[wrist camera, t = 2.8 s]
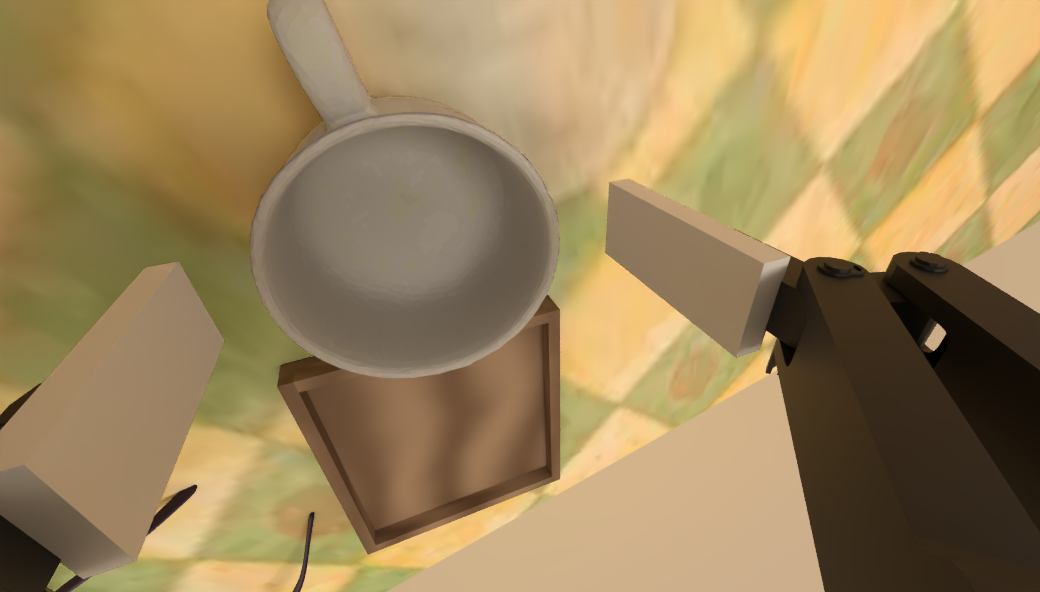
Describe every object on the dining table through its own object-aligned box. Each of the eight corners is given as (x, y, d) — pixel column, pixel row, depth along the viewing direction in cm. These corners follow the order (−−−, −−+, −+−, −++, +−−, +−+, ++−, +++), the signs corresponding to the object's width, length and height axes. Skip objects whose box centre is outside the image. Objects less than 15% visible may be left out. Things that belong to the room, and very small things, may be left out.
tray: (366, 532, 34) (367, 554, 32) (280, 365, 23) (277, 386, 22) (551, 462, 38) (560, 478, 37) (548, 295, 28) (559, 309, 26)
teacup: (508, 265, 25) (565, 341, 19) (325, 314, 23) (321, 422, 16) (473, -15, 18) (550, -43, 11) (188, 10, 15) (80, -8, 9)
